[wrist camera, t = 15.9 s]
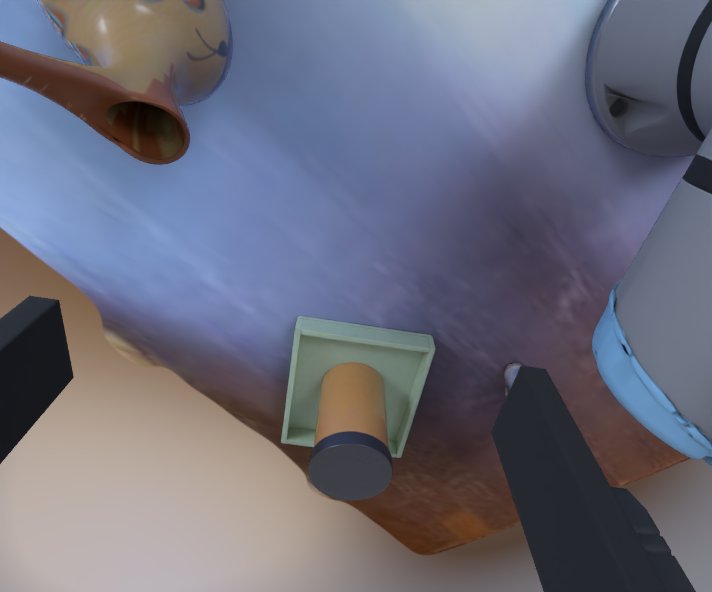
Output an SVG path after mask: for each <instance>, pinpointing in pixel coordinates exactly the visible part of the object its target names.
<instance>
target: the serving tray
mask: <svg viewBox="0 0 712 592" xmlns="http://www.w3.org/2000/svg"><path fill="white" fill-rule="evenodd" d="M435 350H436V349H435V345H434V341H433V336H432V335H427V334H420V333H413V332H407V331H400V330H393V329H386V328H380V327H373V326H366V325H359V324H352V323H346V322H339V321H332V320H325V319H319V318H312V317H305V316H298V318H297V323H296V327H295V333H294V342H293V350H292V358H291V366H290V374H289V382H288V390H287V398H286V406H285V415H284V423H283V431H282V439H281V443H286V444H293V445H301V446H309V447H313V446H314V437H315V429H316V420H317V412H318V403H319V395H320V386H321V381H322V378H323V376H324V375H325V374H326V373H327V371H329V370H330V369H331V368H333V367H334V366H336V365H339V364H342V363H348V362H357V363H363V364H366V365H368V366H370V367H372V368H374V369H375V370H376V371H377V372H378V373H379V374H380V375H381V376H382V378H383V380H384V384H385V395H386V410H387V425H388V440H389V451H390V453H391V456H392V457H397V458H401V456H402V452H403V449H404V446H405V443H406V440H407V437H408V434H409V431H410V428H411V424H412V421H413V418H414V415H415V412H416V409H417V406H418V403H419V400H420V396H421V393H422V390H423V387H424V384H425V381H426V378H427V375H428V371H429V368H430V365H431V362H432V359H433V356H434V353H435Z"/></svg>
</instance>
